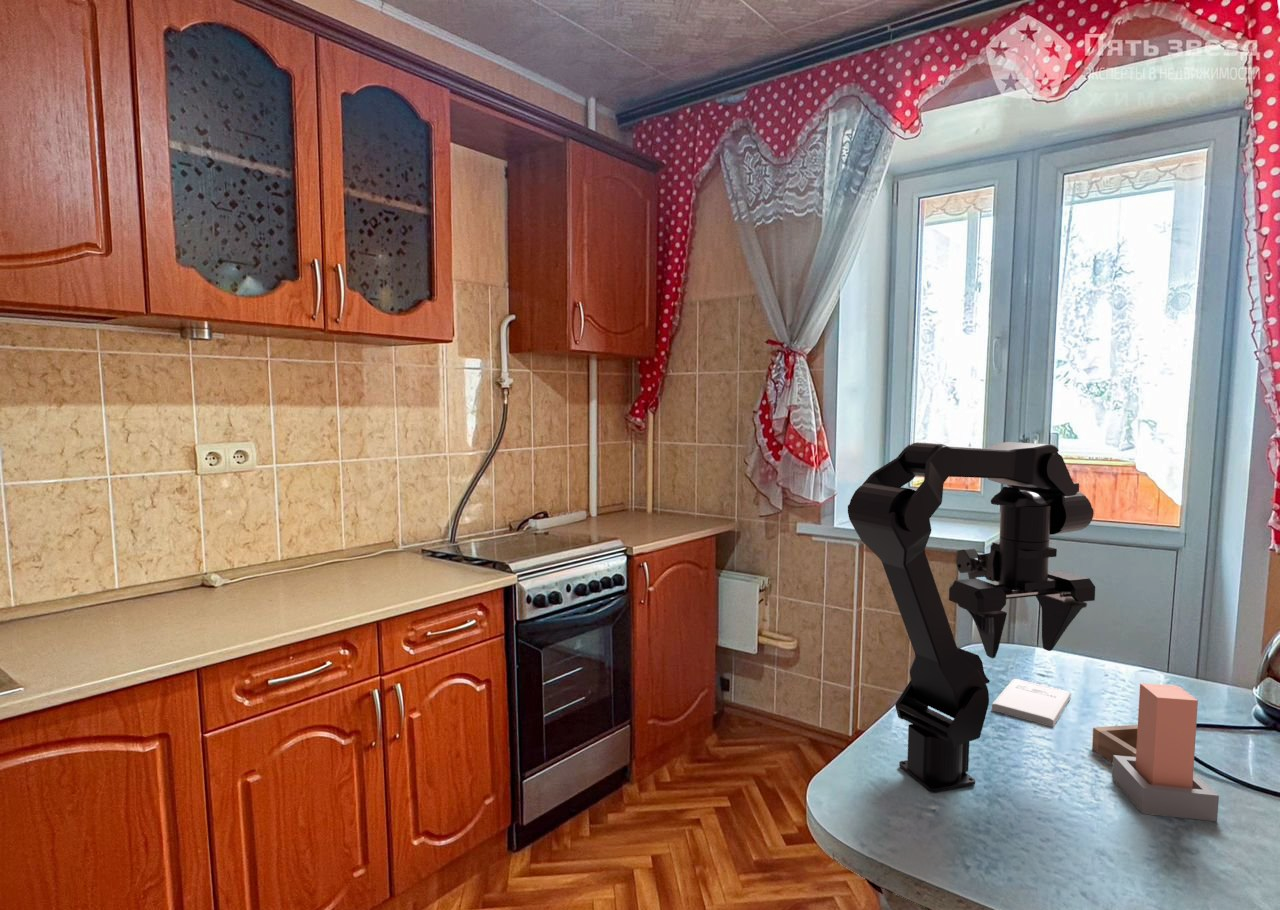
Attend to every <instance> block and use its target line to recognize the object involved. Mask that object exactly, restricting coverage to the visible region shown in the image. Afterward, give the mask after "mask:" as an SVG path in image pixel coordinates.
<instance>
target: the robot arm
mask: <svg viewBox="0 0 1280 910" xmlns="http://www.w3.org/2000/svg"><path fill="white" fill-rule="evenodd" d="M1059 450H1060V449H1059V448H1058V447H1057V446H1056V445H1053V444H1050V443H1049V444H1048V443H1036V442H1034V443H1032V442H1029V443H1028V442H1015V441H1005V442H999V443H995V444H992V445H990V446H989V447H986V448H984V447H983V448H978V447H977V448H975V447H964V446H963V447H961V446H960V447H959V446H948V445H945V444H944V443H932V442H931V443H929V442H914V443H913V442H912V443H911V444H908V445H907V446H905V447H904V448H903V450H902V451H901V452H900V453H899V454H898V456H897V457H895V458H893V459H892V460H891V461H889V462H887V463H886V464H884V465H883V466H881V467H880V468H878V469H876V470H874V471H873V472H872V473H871V474H870V475H869V476H868V477H867V478H866V480H865V481H864V482H863V483H862V484H861V485H860V486H858V488H857V489H856V490H855V491H854V493H853V494H852V496H851V498H850V501H849V504H848V505H847V514H848V518H849V519H848V520H849V521H850V523H851V525H852V527H853V529H854V530H855V532H856V534H857V536H858V537H859V539H860V540H861V542H863V543H864V544H865V545H866V546H867V548H868V549H869V550H870V551H871V552H872V553H873V554H874V555H875V556H876V557H878V559H879V560H880V562H881V564H882V567H883V569H884V572H885V575H886V577H887V580H888V583H889V586H890V588H891V592H892V594H893V596H894V600H895V602H896V605H897V608H898V610H899V611H898V612H899V613H900V615H901V619H902V622H903V624H904V627H905V630H906V633H907V636H908V639H909V640H910V644H911V647H912V649H913V653H914V658H913V660H912V663H911V665H910V668H909V676H910V681H909V682H908V684H907V685H906V687H905V688H904V690H903V691H902V693H901V695H900V696H899V698H898V699H897V701H895V710H896V714H897V717H898V719H901V720H904V721H905V722H908V723H910V724H908V733H907V759H906V760H901V761H899V762H898V765H899V767H900V768H901V769H902V770H903V771H905V772H906V773H907V774H908V775H909V776H911V777H912V778H913V779H915V780H916V781H917V782H918V783H919V784H921V785H922V787H924V788H925V789H927V790H928V791H929V792H932V793H938V792H942V791H947V790H953V789H957V788H958V789H959V788H963V787H969V786H974V785H976V779H975V778H973V776H971V775H970V774H968V772H969V767H970V766H969V763H970V761H969V759H970V742H972V741H975V740H979V739H980V738H981V734H982V732H983V731H982V730H983V727H984V724H985V720H986V716H987V712H988V708H989V705H990V694H989V689H988V686H987V684H990V679H989V678H988V677H987V675H986V674H985V670H984V665H983V664H984V663H983V661H982V659H981V657H980V656H979V654H976V653H974V652H971V651H968V650H966V649H964V648H963V649H962V648H960V647H958V646H957V642H956V639H955V636H954V634H953V632H952V628H951V625H950V622H949V620H948V615H947V613H946V610H945V608H944V604H943V602H942V598H941V595H940V593H939V590H938V587H937V584H936V581H935V578H934V575H933V572H932V569H931V566H930V563H929V560H928V557H927V554H926V547H927V544H928V541H929V538H930V536H931V534H932V526H931V521H930V520H931V518H932V516H934V514H935V513H936V512H937V510H938V509H939V507H940V506H941V505H942V502H943V494H944V484H945V482H946V481H947V479H948V478H950V477H951V478H973V479H975V478H976V479H977V478H978V479H988V480H989V481H992V482H995V483H999V484H1002V485H1006V486H1002V488H1001V489H1000V491H999V492H997V493H996V494H995V495H994V496H993V497H992V498H991V499H990V504H991V505H995V506H1000V515H999V517H1000V518H999V519H1000V520H999V540H998V541H994V542H993V541H992V542H991V545H990V551H989V552H988V553H982V554H981V553H980V554H979V552H977V550H976V549H975V548H966V549H965V548H964V549H959V550H957V554H956V561H955V562H956V569H957V571H958V572H959V573H960V574H967V576H968V578H964V579H957V580H956V579H955V580H953V582H952V583H951V584H949V588H948V601H950V602H952V603H955V604H957V606H958V607H959V608H961V609H963V610H966V611H967V612H968V614H970V616H971V618H972V620H973V621H974V624H975V626H976V629H977V631H978V634H979V637H980V639H981V642H982V645H983V648H984V651H985V655H986V657H988V658H990V659H996V656H997V653H998V651H999V647H1000V643H1001V639H1002V637H1003V631H1004V628H1005V623H1006V619H1007V615H1008V612H1006V611H1005V610H1004V611H1003V609H1004V607H1005V606H1006V605H1007V600H1010V599H1012V600H1013V599H1020V598H1021V599H1022V598H1030V597H1031V598H1032V597H1035V598H1036V599H1037V600H1036V601H1038V603H1039V605H1040V608H1041V642H1042V648H1043V650H1045V651H1047V652H1048V651H1049V652H1051V651H1053V650H1054V648H1055V646H1056V645H1057V643H1058V642H1059V640H1060V639H1061V638H1062V636H1063V635H1064V633H1065V632H1066V630H1067V629H1068V627H1069V626H1070V625H1071V623H1072V622H1073V621H1074V619H1076V616H1077V615H1078V614H1079V613H1080V611H1081V610H1082V609H1084V608H1087V605H1088V602H1093V601H1094V602H1095V599H1096V586H1095V584H1094V583H1093V582H1092V579H1091V578H1089V577H1086V576H1082V575H1079V574H1075V573H1071V572H1068V571H1065V570H1054V571H1053V570H1052V571H1049V558H1056V557H1057V552H1058V550H1057V548H1054V547H1050V535H1058V534H1065V533H1072V532H1078V531H1081V530H1084V529H1086V528H1087V527H1088V526H1089V525H1090V524H1091V522H1092V521H1093V518H1094V513H1095V512H1094V508H1093V507H1092V503H1091V501H1090V500H1089V498H1087V496H1086V495H1085V494H1083V493H1082V492H1081V491H1080V483H1079V482H1074V481H1073V479H1072V477H1071V475H1070V472H1069V469H1068V467H1067V465H1066V463H1065V460H1064V458H1063V457H1062V455H1061V454H1060V453H1059ZM916 477H922V478H923V481H922V482H921V483H920V485H919V486H918V488H917V489H916V490H915V489H912V488H908V487H904V486H905V485H906V484H908V483H910V482H912V480H914V479H915V478H916ZM979 578H986V580H988V581H990V582H987V581H985V580H982V579H979ZM991 582H997V583H998V584H993V583H991ZM929 707H930V708H929ZM933 709H934V710H933ZM935 710H936V711H935ZM937 711H938V712H937ZM941 713H943V714H944V715H943V714H941ZM945 715H946V716H945ZM947 716H948V717H947ZM949 717H950V718H949ZM951 718H953V719H951Z"/></svg>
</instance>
